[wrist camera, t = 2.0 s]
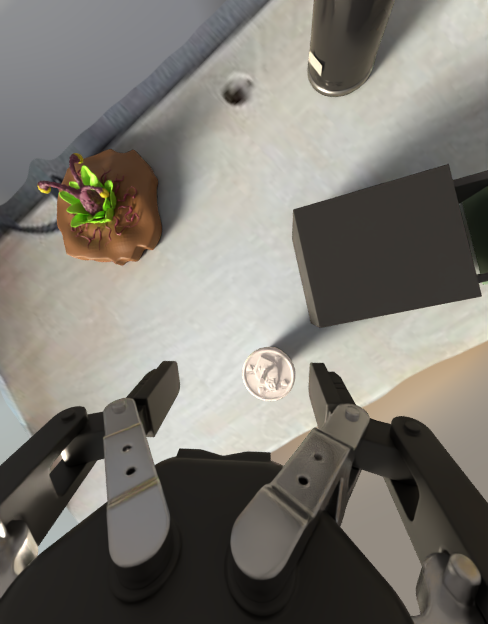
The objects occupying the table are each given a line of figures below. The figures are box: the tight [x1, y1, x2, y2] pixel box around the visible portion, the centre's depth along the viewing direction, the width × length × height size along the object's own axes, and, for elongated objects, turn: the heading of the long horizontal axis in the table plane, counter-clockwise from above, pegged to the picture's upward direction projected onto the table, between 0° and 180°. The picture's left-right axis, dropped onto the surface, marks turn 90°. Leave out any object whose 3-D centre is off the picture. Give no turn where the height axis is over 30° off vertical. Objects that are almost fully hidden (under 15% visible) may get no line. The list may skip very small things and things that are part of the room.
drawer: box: [453, 170, 488, 285], centre depth 28 cm, size 19×12×9 cm, turn 102°
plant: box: [38, 149, 162, 266], centre depth 37 cm, size 20×20×11 cm
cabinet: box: [292, 164, 482, 328], centre depth 30 cm, size 16×14×11 cm
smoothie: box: [243, 347, 295, 401], centre depth 30 cm, size 6×6×14 cm
